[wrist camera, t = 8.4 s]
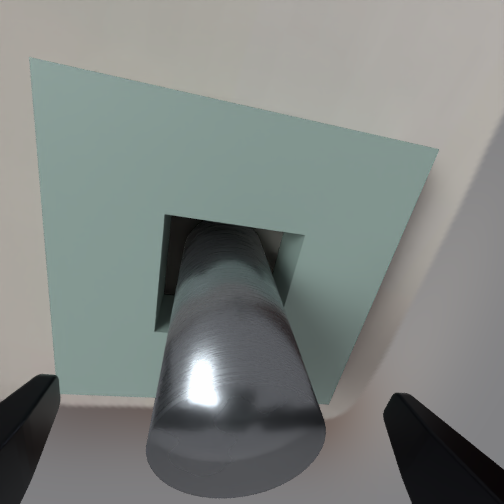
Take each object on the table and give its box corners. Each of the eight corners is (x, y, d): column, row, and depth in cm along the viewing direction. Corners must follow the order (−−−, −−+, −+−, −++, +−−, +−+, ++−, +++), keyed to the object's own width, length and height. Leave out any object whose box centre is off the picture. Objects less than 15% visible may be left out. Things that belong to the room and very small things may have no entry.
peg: (253, 290, 17) (299, 496, 8) (179, 282, 16) (140, 500, 7) (269, 222, 15) (349, 388, 6) (188, 210, 15) (152, 377, 6)
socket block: (313, 364, 20) (328, 404, 17) (81, 348, 17) (57, 393, 15) (396, 140, 14) (439, 149, 12) (71, 67, 12) (29, 56, 9)
